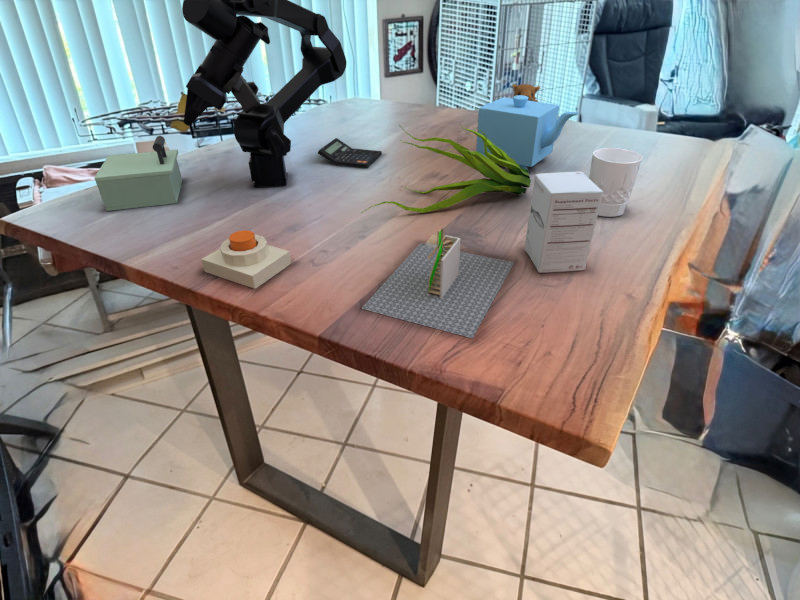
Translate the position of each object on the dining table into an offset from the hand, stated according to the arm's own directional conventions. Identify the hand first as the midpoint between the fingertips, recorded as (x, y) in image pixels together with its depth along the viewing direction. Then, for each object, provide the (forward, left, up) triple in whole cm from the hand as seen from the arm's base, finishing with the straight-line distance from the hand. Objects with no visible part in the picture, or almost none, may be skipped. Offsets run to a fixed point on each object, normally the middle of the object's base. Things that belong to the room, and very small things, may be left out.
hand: (186, 124), depth 94 cm
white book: (-40, +40, -14) cm, 59 cm away
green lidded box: (+11, -1, -13) cm, 17 cm away
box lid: (+11, -1, -8) cm, 13 cm away
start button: (-12, +31, -10) cm, 35 cm away
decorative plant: (-47, +14, -14) cm, 51 cm away
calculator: (-30, -15, -14) cm, 36 cm away
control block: (-12, +31, -13) cm, 36 cm away
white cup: (-74, +20, -14) cm, 78 cm away
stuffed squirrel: (-72, -23, -14) cm, 77 cm away
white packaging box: (-58, +36, -14) cm, 70 cm away
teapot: (-67, -6, -14) cm, 69 cm away
